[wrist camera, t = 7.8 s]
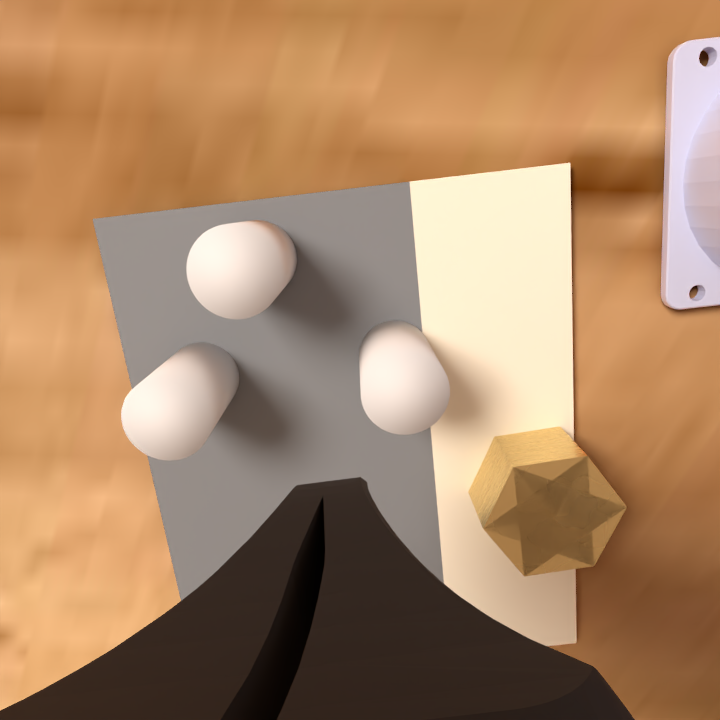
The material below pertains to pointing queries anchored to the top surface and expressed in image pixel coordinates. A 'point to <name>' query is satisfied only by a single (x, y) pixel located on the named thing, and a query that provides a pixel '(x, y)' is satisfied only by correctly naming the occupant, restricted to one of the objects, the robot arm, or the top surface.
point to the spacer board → (351, 363)
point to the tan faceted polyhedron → (544, 502)
